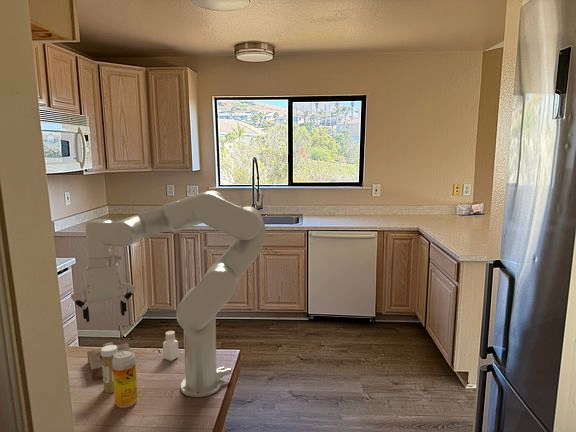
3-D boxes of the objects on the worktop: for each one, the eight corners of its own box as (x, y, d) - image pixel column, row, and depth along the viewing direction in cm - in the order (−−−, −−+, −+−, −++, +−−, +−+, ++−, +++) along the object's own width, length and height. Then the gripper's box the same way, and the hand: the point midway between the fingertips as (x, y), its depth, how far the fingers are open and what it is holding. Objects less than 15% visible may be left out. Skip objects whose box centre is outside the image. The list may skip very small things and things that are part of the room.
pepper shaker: (162, 358, 140) (161, 333, 139) (171, 354, 144) (170, 329, 142) (170, 361, 138) (169, 336, 137) (179, 357, 142) (178, 331, 140)
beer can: (123, 411, 110) (120, 361, 108) (110, 404, 114) (107, 355, 112) (142, 400, 116) (139, 352, 114) (128, 394, 119) (126, 347, 117)
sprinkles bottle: (121, 390, 121) (118, 348, 119) (104, 395, 118) (102, 352, 117) (118, 383, 125) (115, 342, 123) (102, 387, 122) (99, 346, 120)
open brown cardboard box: (127, 353, 145) (126, 338, 144) (135, 370, 133) (134, 353, 132) (88, 362, 138) (86, 346, 137) (92, 381, 126) (91, 364, 125)
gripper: (131, 255, 124) (133, 308, 126) (68, 262, 115) (72, 318, 117) (135, 260, 118) (138, 315, 120) (69, 268, 109) (73, 327, 111)
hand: (105, 317), depth 119 cm, fingers open, 9 cm apart
